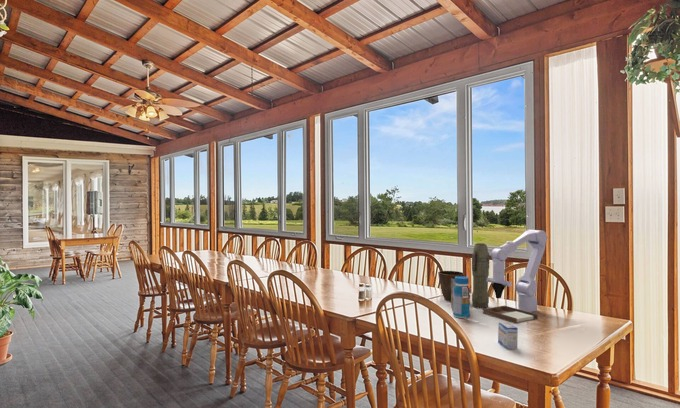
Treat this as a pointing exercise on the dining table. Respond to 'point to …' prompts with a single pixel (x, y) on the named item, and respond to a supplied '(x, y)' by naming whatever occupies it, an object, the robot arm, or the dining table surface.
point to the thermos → (480, 276)
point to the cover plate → (519, 316)
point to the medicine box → (507, 335)
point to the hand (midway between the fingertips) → (498, 297)
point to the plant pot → (447, 282)
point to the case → (500, 310)
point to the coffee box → (452, 291)
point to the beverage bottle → (461, 297)
